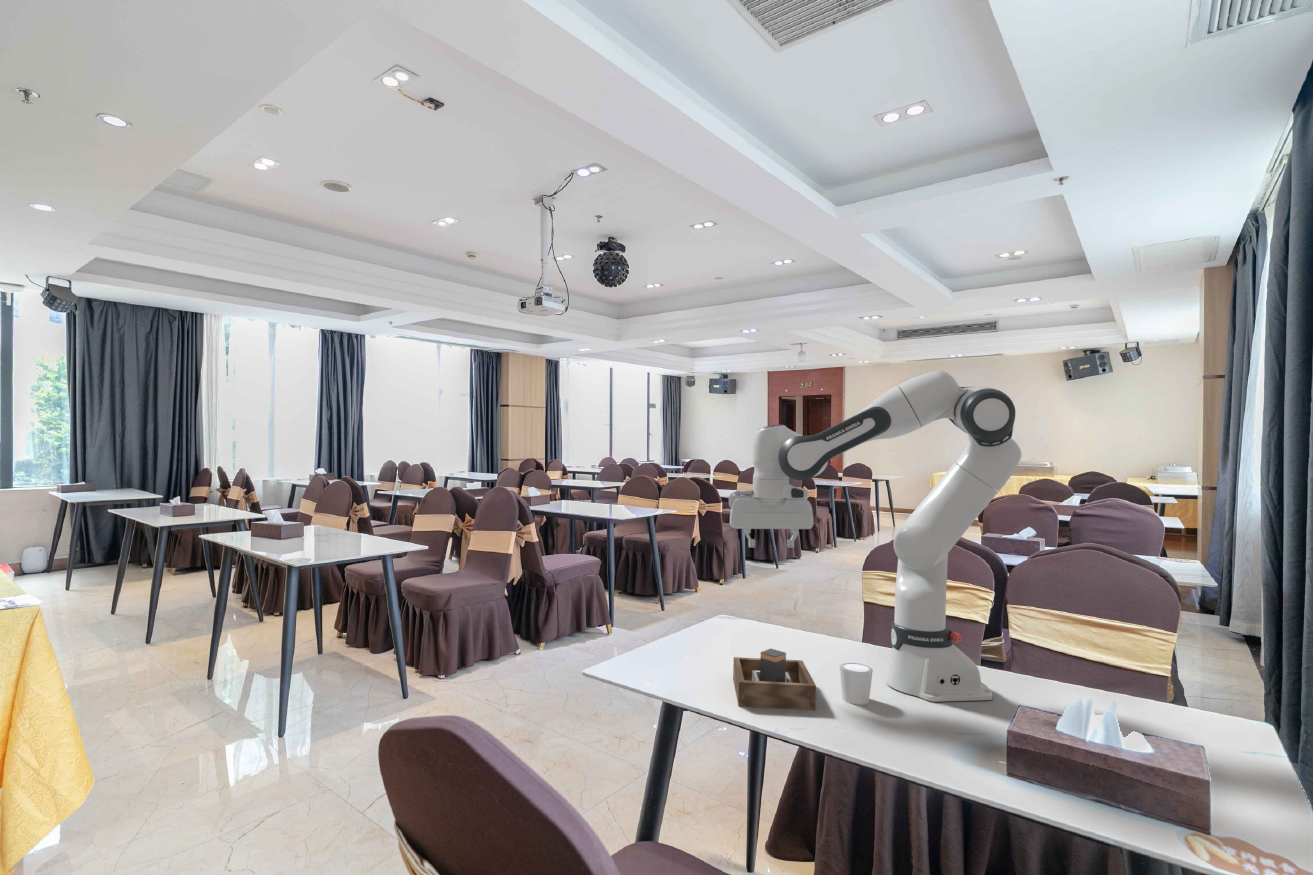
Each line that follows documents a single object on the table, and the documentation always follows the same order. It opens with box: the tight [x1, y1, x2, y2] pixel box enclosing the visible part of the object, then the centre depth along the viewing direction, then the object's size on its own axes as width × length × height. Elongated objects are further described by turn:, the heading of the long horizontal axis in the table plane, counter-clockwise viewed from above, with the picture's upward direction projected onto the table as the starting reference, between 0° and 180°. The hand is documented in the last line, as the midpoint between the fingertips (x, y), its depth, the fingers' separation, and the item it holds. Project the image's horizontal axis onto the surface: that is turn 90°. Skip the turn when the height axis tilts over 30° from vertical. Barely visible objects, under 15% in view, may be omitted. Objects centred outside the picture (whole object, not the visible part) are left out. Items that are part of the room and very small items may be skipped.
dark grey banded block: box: [760, 648, 787, 682], centre depth 140 cm, size 4×4×8 cm
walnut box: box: [732, 656, 817, 711], centre depth 140 cm, size 16×16×5 cm
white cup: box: [839, 662, 873, 706], centre depth 138 cm, size 7×7×7 cm
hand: (771, 547), depth 155 cm, fingers open, 8 cm apart
